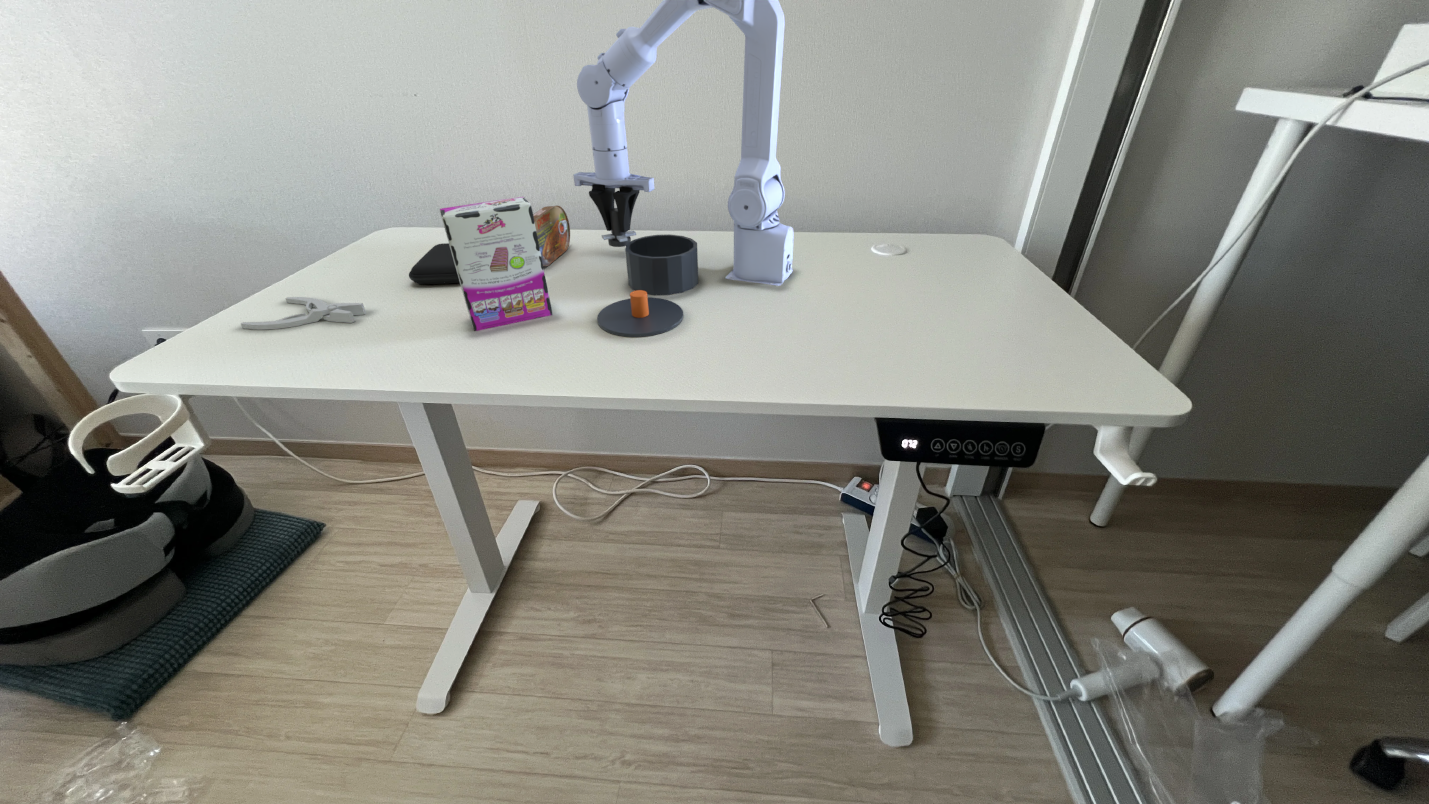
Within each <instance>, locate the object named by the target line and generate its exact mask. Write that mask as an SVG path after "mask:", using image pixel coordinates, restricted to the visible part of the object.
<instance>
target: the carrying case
mask: <svg viewBox="0 0 1429 804" xmlns="http://www.w3.org/2000/svg"><path fill="white" fill-rule="evenodd" d="M408 278H409V279H410V280H411V281H412V282H414V283H415V284H417V285H435V284H436V285H439V284H440V285H442V284H443V285H445V284H460V281H459V278H458V274H457V271H456V267H455V263H454V260H453V256H452V253H451V249H450V246H449V242H447V243H438V244H435V245H434V246H433V247H431V248H430V249H429V250H428V251H427V252H426V253H425V254H424V255H423V256H422V257H421V258H420V259H419V260H418V261H417V262H416V263H414V265H413V266H412V267H411V268H410V271H409V272H408Z"/></svg>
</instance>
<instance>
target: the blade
mask: <svg viewBox="0 0 1429 804" xmlns="http://www.w3.org/2000/svg"><path fill="white" fill-rule="evenodd" d="M609 211H610V220H611V229H612V230H611V231H610V233H608V234H602V235H601V238H602V240H603V241H608V245H609V246H610V247H614V248H622V247H626V245H627V244H628V243H629V242H631V241H632V239H631V237H634V236H637V232H636V231H635V230H628V231H627V232H625V233H623V232H621V229H620V222H619V214H618V209H617V207H614V208H612V209H610V210H609Z"/></svg>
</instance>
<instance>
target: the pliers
mask: <svg viewBox="0 0 1429 804" xmlns="http://www.w3.org/2000/svg"><path fill="white" fill-rule="evenodd" d="M285 301H286V303H288V304H296V305H304V306H305V309H306V311H307V313H308V314H306V313H305V312H302V313H297V314H296V313H295V314H291V315H289V316H285V317H281V318H280V319H276V320H269V321H268V320H267V321H243V322H240V326H241V328H242V329H245V330H246V329H247V330H258V331H259V330H277V329H286V328H294V327H299V326H303V325H307V324H311V323H317V322H319V321H320V320H321V319H323V321H326V322H327V321H328V322H334V323H349V324H352V323H354V322H356V319H355V316H361V315H362V316H364V315H366V314H367V311H366V309H365V308H366V307H365V306H364V303H363V302H334V303H333V302H332V303H327V302H326V301H324V300H322V299H319V298H316V297H315V298H314V297H308V296H307V297H306V296H288V297H285Z"/></svg>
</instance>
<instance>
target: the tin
mask: <svg viewBox="0 0 1429 804" xmlns="http://www.w3.org/2000/svg"><path fill="white" fill-rule="evenodd" d="M533 216H534V222H535V227H536V232H537V236H538V242H539V247H540V252H541V258H542V263H543V267H549V266H551V264H553V263H554V262H555V261H556V260H557V259H558V258H559V257H561V256H562V255H563V254H564V253H566V252H567V250H568V249H569V247H570V243H571V227H570V226H571V225H570V221H569V217H568V215H567V213H566V211H565V209H564V208H563V207H562V206H561V205H548V206H543V207H542V208H540V209H539V210H537V211H536V212H533Z"/></svg>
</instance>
